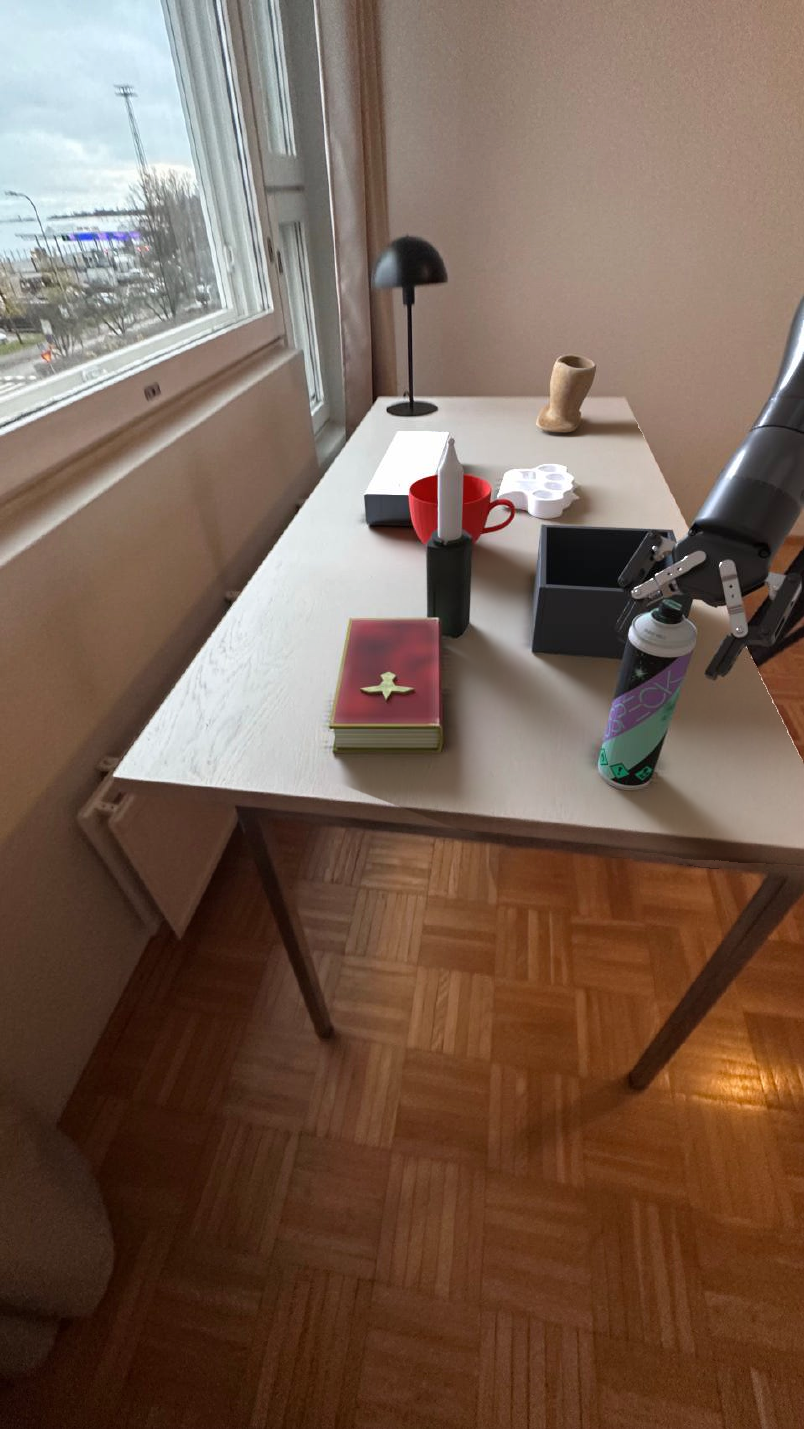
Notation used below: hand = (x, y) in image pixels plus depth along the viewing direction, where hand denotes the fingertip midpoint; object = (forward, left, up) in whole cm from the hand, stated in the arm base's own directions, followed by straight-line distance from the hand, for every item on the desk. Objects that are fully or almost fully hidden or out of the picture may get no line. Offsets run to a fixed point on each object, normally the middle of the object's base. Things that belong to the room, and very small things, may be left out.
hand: (663, 658), depth 57 cm
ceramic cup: (+37, -37, -14) cm, 54 cm away
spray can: (+1, +2, -14) cm, 14 cm away
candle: (+29, -15, -14) cm, 35 cm away
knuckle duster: (+32, -62, -14) cm, 71 cm away
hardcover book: (+29, +1, -14) cm, 32 cm away
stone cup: (+41, -105, -14) cm, 114 cm away
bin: (+11, -25, -13) cm, 31 cm away
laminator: (+56, -56, -14) cm, 80 cm away
